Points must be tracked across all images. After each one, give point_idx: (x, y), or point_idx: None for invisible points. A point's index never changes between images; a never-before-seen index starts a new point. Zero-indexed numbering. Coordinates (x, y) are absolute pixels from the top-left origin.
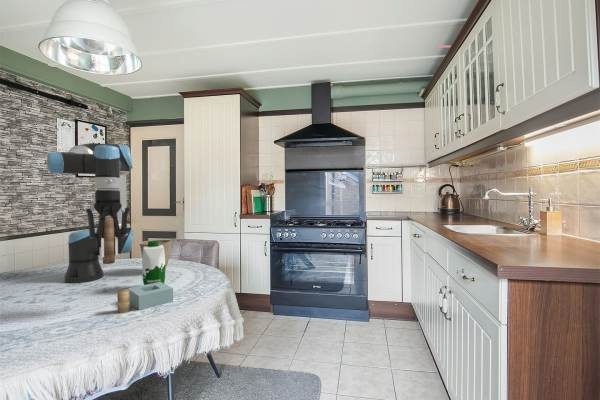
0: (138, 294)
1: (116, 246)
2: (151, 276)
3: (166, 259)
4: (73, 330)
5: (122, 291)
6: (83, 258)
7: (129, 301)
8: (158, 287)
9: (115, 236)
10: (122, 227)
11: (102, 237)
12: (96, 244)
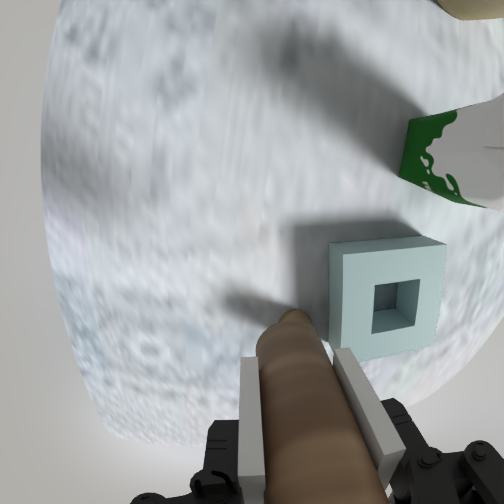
0: None
1: None
2: (445, 195)
3: (501, 17)
4: (172, 370)
5: None
6: None
7: None
8: (416, 309)
9: (402, 453)
10: (492, 499)
11: (264, 497)
12: (209, 449)
